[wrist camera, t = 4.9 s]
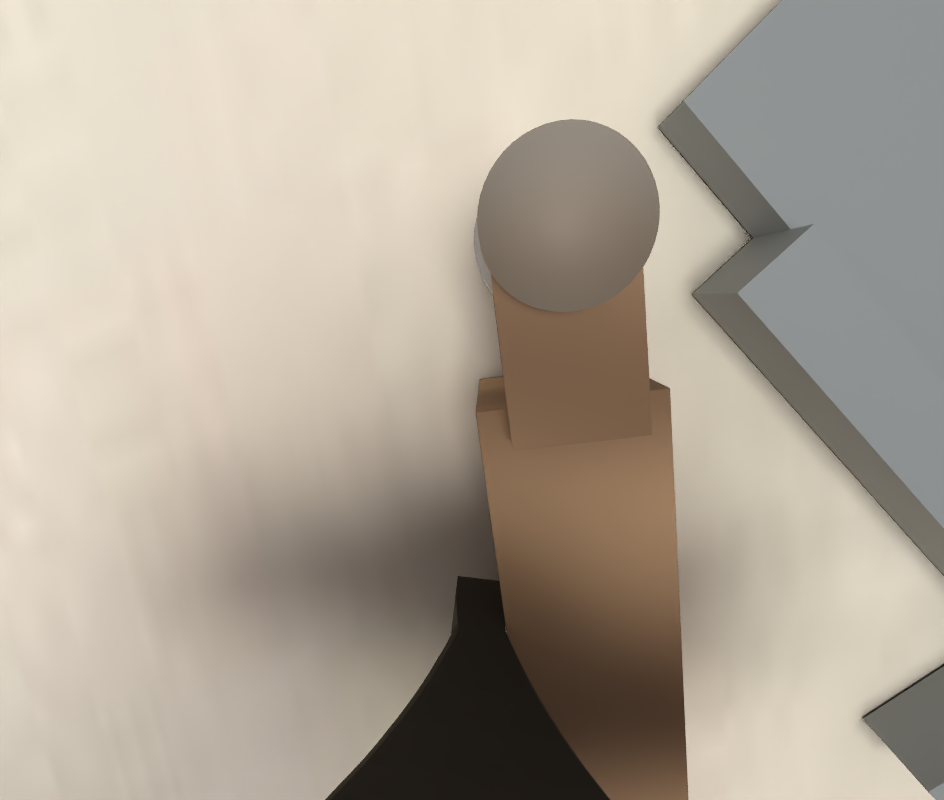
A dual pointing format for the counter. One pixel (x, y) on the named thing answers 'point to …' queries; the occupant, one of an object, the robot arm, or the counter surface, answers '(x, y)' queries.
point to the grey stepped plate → (841, 258)
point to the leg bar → (584, 453)
